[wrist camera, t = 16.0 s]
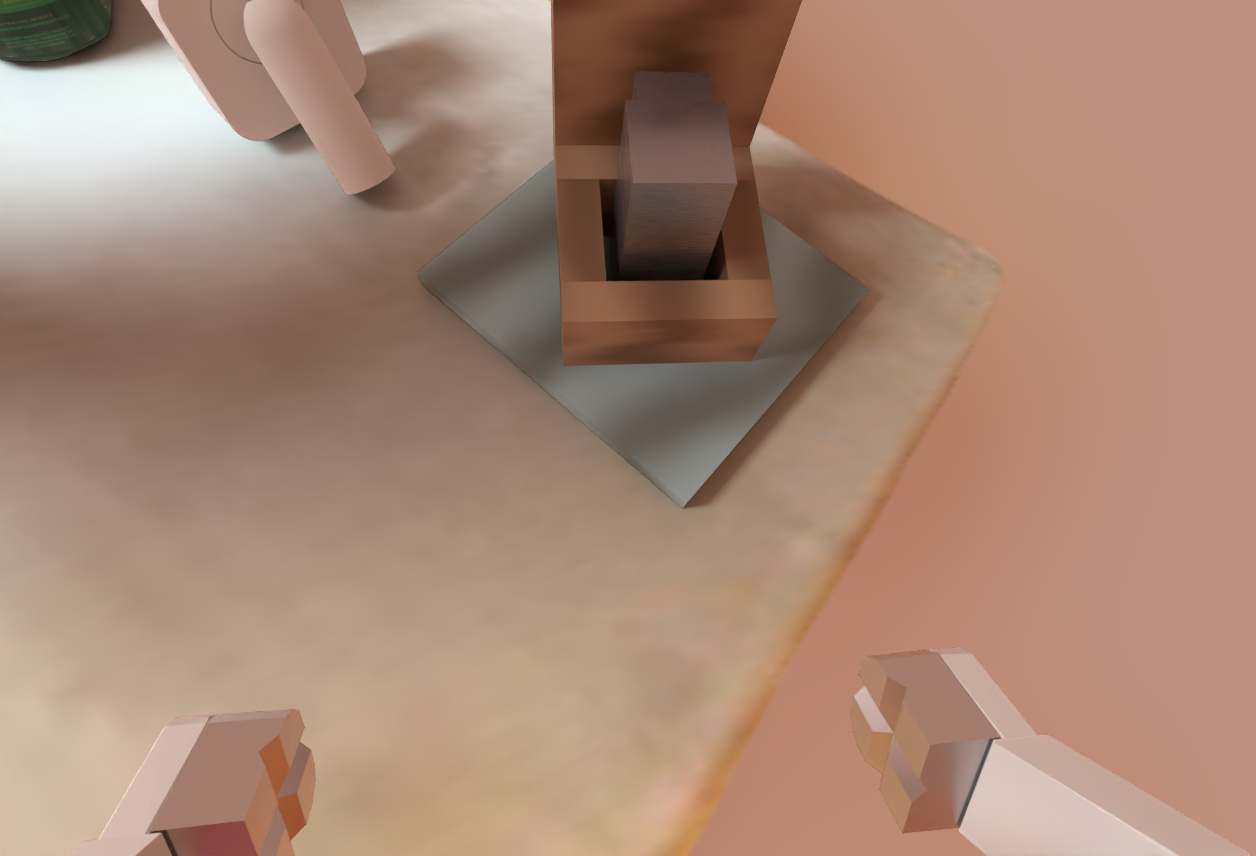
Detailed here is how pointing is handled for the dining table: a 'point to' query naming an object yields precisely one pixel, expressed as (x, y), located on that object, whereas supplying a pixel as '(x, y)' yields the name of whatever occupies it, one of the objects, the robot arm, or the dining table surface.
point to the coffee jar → (51, 27)
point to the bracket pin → (670, 179)
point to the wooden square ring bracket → (648, 310)
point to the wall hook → (281, 75)
